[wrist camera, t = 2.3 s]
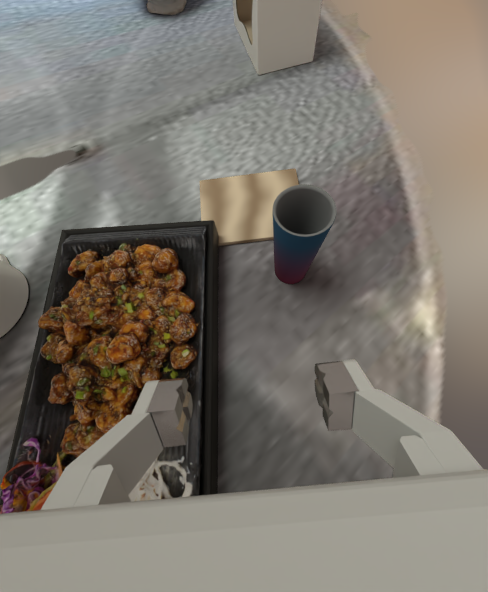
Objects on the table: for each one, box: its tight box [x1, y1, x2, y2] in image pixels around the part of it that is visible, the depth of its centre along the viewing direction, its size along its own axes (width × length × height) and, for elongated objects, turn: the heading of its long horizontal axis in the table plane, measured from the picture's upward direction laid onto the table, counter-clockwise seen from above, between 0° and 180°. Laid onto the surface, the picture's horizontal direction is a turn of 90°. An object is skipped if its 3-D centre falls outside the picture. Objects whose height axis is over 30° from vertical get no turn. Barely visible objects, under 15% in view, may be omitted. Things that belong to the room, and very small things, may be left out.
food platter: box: [0, 220, 219, 514], centre depth 32 cm, size 45×25×10 cm, turn 2°
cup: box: [273, 185, 337, 284], centre depth 35 cm, size 7×7×15 cm
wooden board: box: [200, 169, 299, 246], centre depth 46 cm, size 18×14×1 cm
